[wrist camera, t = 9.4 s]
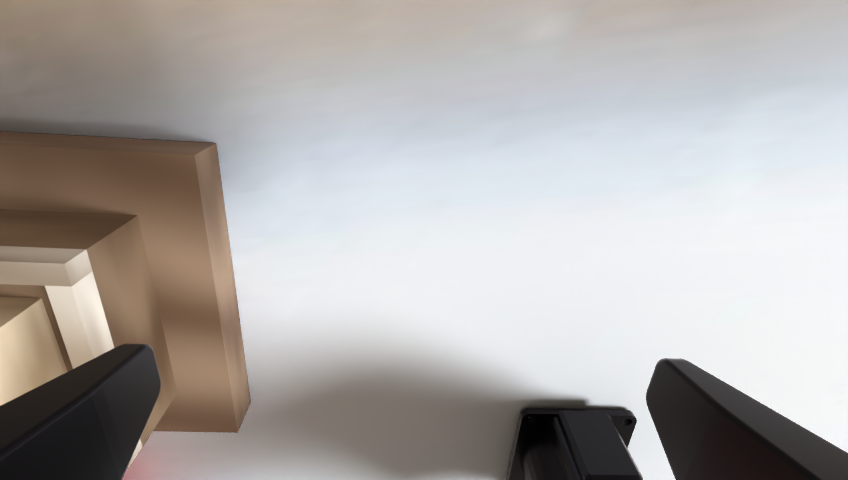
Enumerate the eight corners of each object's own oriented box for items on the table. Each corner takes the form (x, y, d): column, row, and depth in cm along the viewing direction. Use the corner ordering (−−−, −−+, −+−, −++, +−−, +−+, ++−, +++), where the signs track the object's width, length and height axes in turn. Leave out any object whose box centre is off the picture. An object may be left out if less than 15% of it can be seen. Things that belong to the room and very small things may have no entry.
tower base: (250, 402, 24) (203, 511, 18) (-24, 395, 23) (-158, 508, 17) (216, 143, 18) (131, 189, 12) (-153, 122, 17) (-416, 162, 12)
